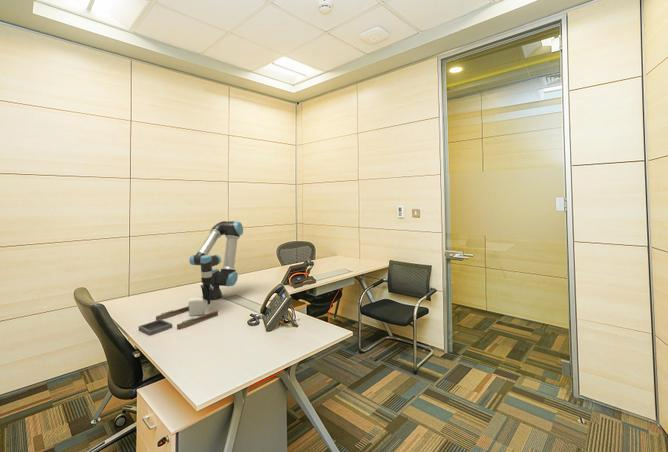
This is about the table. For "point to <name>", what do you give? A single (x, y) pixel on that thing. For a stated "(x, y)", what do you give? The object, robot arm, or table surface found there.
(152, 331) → the tray
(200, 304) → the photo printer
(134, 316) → the table surface
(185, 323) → the brown parallel rails
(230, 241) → the robot arm
